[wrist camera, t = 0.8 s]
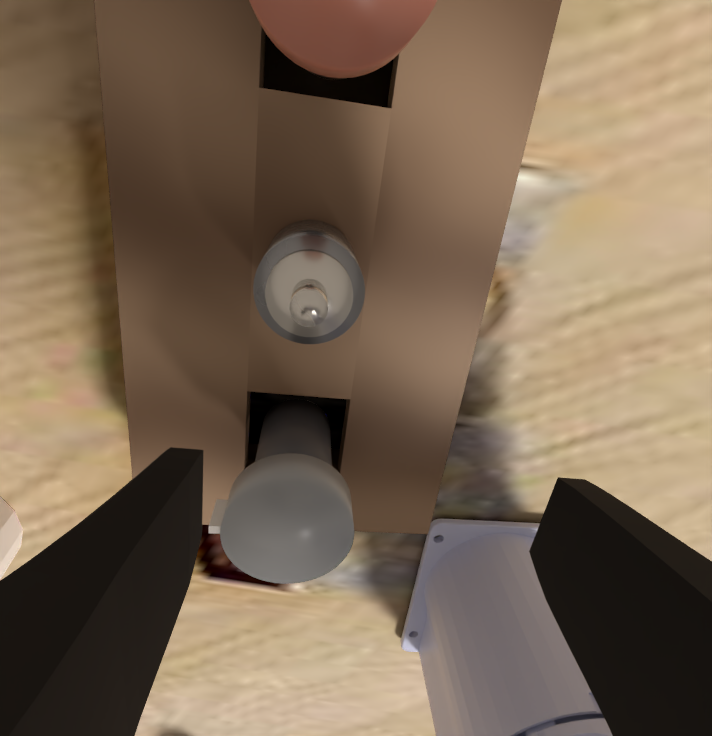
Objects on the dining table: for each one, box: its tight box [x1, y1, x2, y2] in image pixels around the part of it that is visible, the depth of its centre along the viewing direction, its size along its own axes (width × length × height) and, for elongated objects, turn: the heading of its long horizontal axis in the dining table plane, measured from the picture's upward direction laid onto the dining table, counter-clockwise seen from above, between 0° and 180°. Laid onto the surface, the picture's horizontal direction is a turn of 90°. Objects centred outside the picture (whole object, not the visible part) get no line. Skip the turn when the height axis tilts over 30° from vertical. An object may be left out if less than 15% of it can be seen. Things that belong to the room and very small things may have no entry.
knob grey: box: [209, 399, 354, 584], centre depth 14 cm, size 3×4×5 cm
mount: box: [94, 0, 562, 534], centre depth 15 cm, size 20×11×4 cm, turn 173°
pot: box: [253, 219, 365, 344], centre depth 12 cm, size 3×3×4 cm
